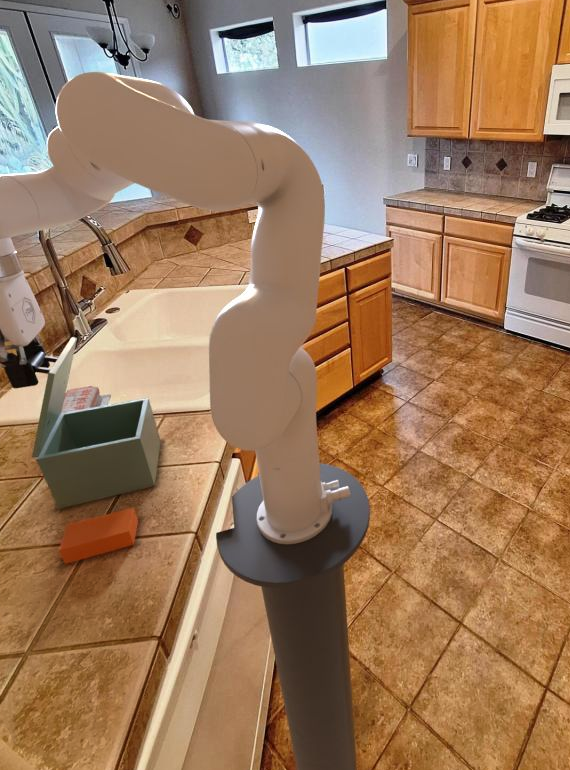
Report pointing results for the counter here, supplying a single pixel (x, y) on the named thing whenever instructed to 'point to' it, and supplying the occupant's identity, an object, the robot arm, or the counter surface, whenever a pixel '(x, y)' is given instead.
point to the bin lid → (52, 390)
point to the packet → (99, 535)
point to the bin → (101, 452)
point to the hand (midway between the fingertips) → (32, 376)
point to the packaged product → (84, 399)
